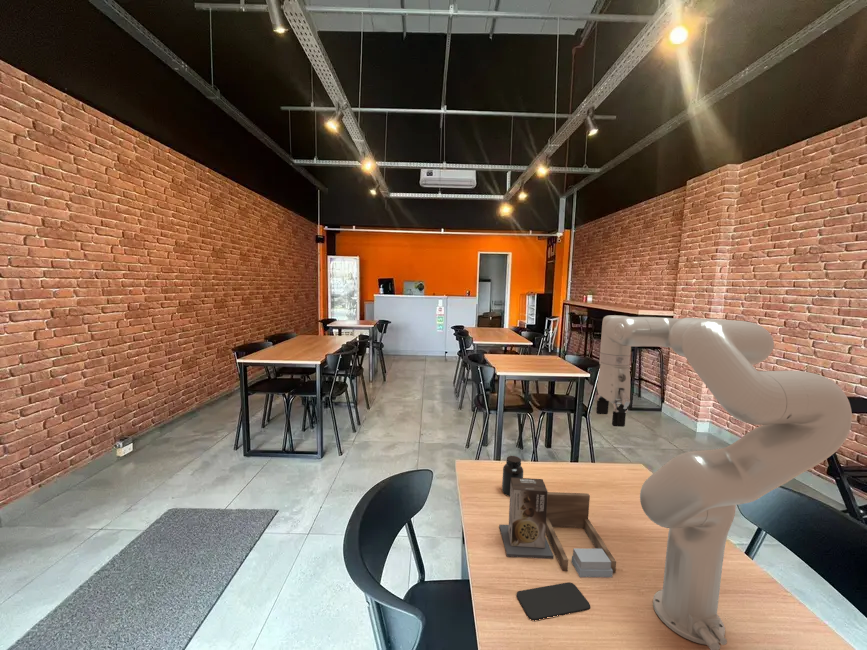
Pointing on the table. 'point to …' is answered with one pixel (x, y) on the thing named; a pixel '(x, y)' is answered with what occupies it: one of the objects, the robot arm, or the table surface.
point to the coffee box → (527, 512)
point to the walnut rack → (571, 522)
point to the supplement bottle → (511, 472)
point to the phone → (552, 601)
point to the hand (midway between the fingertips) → (609, 419)
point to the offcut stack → (591, 563)
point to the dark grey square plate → (524, 551)
